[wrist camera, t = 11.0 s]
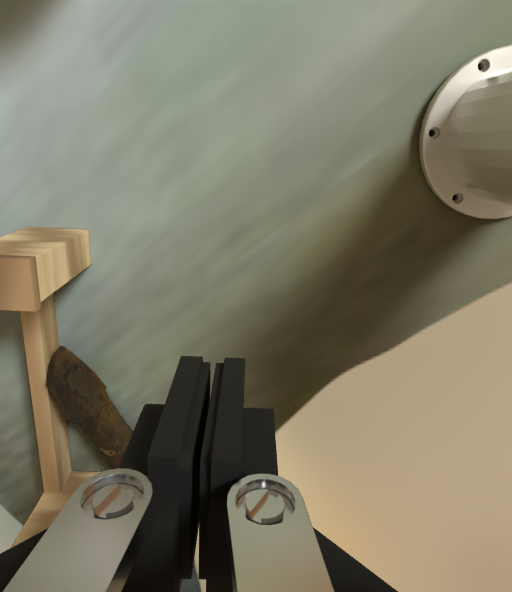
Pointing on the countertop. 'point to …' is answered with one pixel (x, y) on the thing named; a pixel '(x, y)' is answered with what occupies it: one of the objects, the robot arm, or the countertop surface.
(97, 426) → the hand tool
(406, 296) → the countertop surface
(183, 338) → the countertop surface
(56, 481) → the wooden u-shaped stand
